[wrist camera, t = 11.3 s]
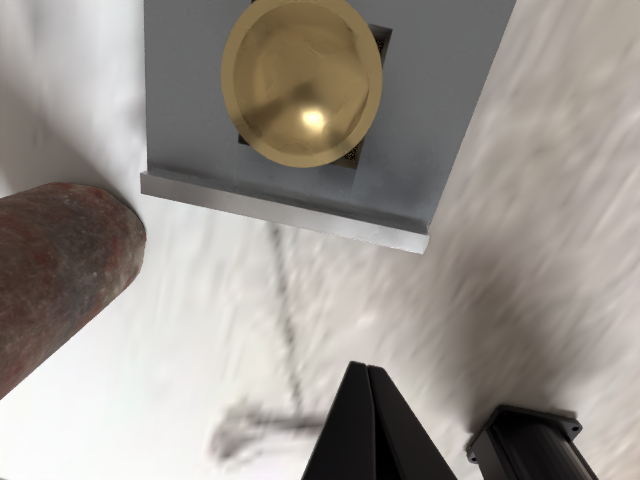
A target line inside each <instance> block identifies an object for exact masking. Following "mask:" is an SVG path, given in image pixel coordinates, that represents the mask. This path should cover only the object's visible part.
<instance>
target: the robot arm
mask: <svg viewBox="0 0 640 480" xmlns="http://www.w3.org/2000/svg"><path fill="white" fill-rule="evenodd" d="M582 429H583V427H582V426H581V424H580V423H579V422H578V420H575V419H570V418H565V417H560V416H555V415H550V414H545V413H540V412H535V411H530V410H525V409H520V408H515V407H510V406H505V405H502V406H499V407H497V408H496V410H495V411H494V413H493V414H492V416H491V417H490V419H489V420H488V422H487V423H486V425H485V426H484V428H483V429H482V431H481V432H480V434H479V435H478V437H477V439H476V440H475V442H474V443H473V445H472V446H471V448H470V449H469V451H468V452H467V454H466V455H467V458H468V461H469V462H470V463H474V464H478V465H479V468H480V470H481V473H482V475H483V478H484V480H599V479H598V478H597V476H596V475H595V474H594V472H593V471H592V469H591V468H590V466H589V465H588V463H587V462H586V461H585V459H584V458H583V456H582V455H581V453H580V452H579V450H578V449H577V448H576V446H575V445H574V443H573V442H572V441H573V440H574V438H575V437H576V436H577V435H578V434H579V433H580V432H581V430H582ZM301 480H458V479H457V478H456V476H455V475H454V473H453V472H452V470H451V469H450V467H449V466H448V464H447V463H446V461H445V460H444V458H443V457H442V455H441V454H440V452H439V451H438V449H437V448H436V446H435V445H434V443H433V442H432V440H431V439H430V437H429V435H428V434H427V432H426V431H425V429H424V428H423V426H422V425H421V423H420V422H419V420H418V419H417V417H416V416H415V414H414V413H413V411H412V410H411V408H410V407H409V405H408V404H407V402H406V401H405V399H404V398H403V396H402V395H401V393H400V392H399V390H398V389H397V387H396V386H395V384H394V383H393V381H392V380H391V378H390V377H389V375H388V374H387V372H386V371H385V369H383V368H382V367H378V366H374V365H367V366H366V364H364V363H361V362H356V361H350V362H349V364H348V367H347V369H346V372H345V374H344V376H343V379H342V381H341V384H340V386H339V389H338V391H337V393H336V396H335V398H334V401H333V403H332V406H331V408H330V410H329V413H328V415H327V418H326V420H325V423H324V425H323V427H322V430H321V432H320V435H319V437H318V439H317V442H316V444H315V447H314V449H313V452H312V454H311V456H310V459H309V461H308V464H307V466H306V469H305V471H304V473H303V476H302V478H301Z"/></svg>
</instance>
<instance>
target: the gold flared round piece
mask: <svg viewBox="0 0 640 480" xmlns="http://www.w3.org/2000/svg"><path fill="white" fill-rule="evenodd" d="M382 81H383V80H382V65H381V59H380V54H379V51H378V47H377V44H376V42H375V39H374V37H373V35H372V32H371V31H370V29H369V27H368V26H367V24H366V22H365V21H364V20H363V18H362V17H361V16H360V15H359V13H358V12H357V11H356V10H355V9H354V8H353V7H352V6H351V5H350V4H348V3H347V2H346V1H344V0H256V1H255V2H254V3H252V4H251V5H250V6H249V7H248V8H247V9H246V10H245V11H244V12H243V13H242V15H241V16H240V17H239V19H238V20H237V21H236V23H235V25H234V27H233V28H232V30H231V32H230V34H229V37H228V39H227V42H226V44H225V48H224V52H223V57H222V65H221V84H222V93H223V97H224V102H225V105H226V108H227V111H228V114H229V116H230V118H231V120H232V122H233V124H234V125H235V127H236V129H237V130H238V132H239V133H240V135H241V136H242V137H243V138H244V140H245V141H246V142H247V143H248V144H249V145H250V146H251V147H252V148H253V149H255V150H256V151H257V152H259V153H260V154H261V155H263V156H265V157H266V158H268V159H270V160H272V161H274V162H277V163H279V164H282V165H286V166H291V167H297V168H309V167H317V166H321V165H325V164H328V163H330V162H333V161H335V160H337V159H339V158H340V157H342V156H344V155H345V154H346V153H348V152H349V151H350V150H352V149H353V148H354V147H355V146H356V145H357V144H358V143H359V142H360V140H361V139H362V138H363V137H364V135H365V134H366V133H367V131H368V129H369V128H370V126H371V124H372V122H373V120H374V118H375V116H376V113H377V110H378V107H379V103H380V98H381V93H382Z"/></svg>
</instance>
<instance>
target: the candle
mask: <svg viewBox="0 0 640 480" xmlns="http://www.w3.org/2000/svg"><path fill="white" fill-rule="evenodd" d="M145 242H146V234H145V230H144V227H143V225H142V224H141V222H140V220H139V219H138V218H137V216H136V215H135V214H134V213H133V212H132V211H131V210H130V209H129V208H127V207H126V206H125V205H123V204H122V203H121V202H120V201H118V200H117V199H116V198H115V197H114V196H112V195H111V194H110V193H108V192H106V191H105V190H103V189H100V188H96V187H94V186H87V185H78V184H74V183H59V182H58V183H49V184H45V185H42V186H39V187H37V188H33V189H30V190H27V191H23V192H20V193H17V194H13V195H10V196H7V197H4V198H1V199H0V400H1V399H2V398H3V397H5V396H6V395H7V394H8V393H9V392H10V391H11V390H12V389H14V388H15V387H16V386H17V385H18V384H19V383H20V382H21V381H23V380H24V379H25V378H26V377H27V376H28V375H29V374H31V373H32V372H33V371H34V370H35V369H36V368H37V367H38V366H40V365H41V364H42V363H43V362H44V361H45V360H46V359H47V358H49V357H50V356H51V355H52V354H53V353H54V352H56V351H57V350H58V349H59V348H60V347H61V346H62V345H64V344H65V343H66V342H67V341H68V340H69V339H70V338H71V337H73V336H74V335H75V334H76V333H77V332H78V331H79V330H81V329H82V328H83V327H84V326H85V325H86V324H87V323H88V322H89V321H91V320H92V319H93V318H94V317H95V316H96V315H98V314H99V313H100V312H101V311H102V310H103V309H104V308H105V307H106V306H108V305H109V304H110V303H111V302H112V301H113V300H114V299H115V298H116V297H117V296H118V295H119V294H121V293H122V292H123V291H124V290H125V289H126V288H127V287H128V286H129V285H130V284H131V283H132V282H133V281H134V279H135V278H136V277H137V275H138V274H139V273H140V270H141V267H142V263H143V257H144V249H145Z"/></svg>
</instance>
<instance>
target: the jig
mask: <svg viewBox="0 0 640 480" xmlns="http://www.w3.org/2000/svg"><path fill="white" fill-rule="evenodd" d="M255 1H256V0H144V34H145V80H146V125H147V171H145V172H142V173H140V182H141V194H146V195H150V196H155V197H159V198H164V199H169V200H173V201H178V202H183V203H187V204H192V205H197V206H201V207H206V208H210V209H215V210H220V211H224V212H229V213H234V214H238V215H243V216H248V217H252V218H257V219H261V220H266V221H271V222H275V223H280V224H285V225H289V226H294V227H298V228H303V229H308V230H312V231H317V232H322V233H326V234H331V235H336V236H340V237H345V238H349V239H354V240H359V241H363V242H368V243H373V244H377V245H382V246H387V247H391V248H396V249H400V250H405V251H410V252H414V253H419V254H424V252H425V249H426V247H427V244H428V242H429V239H430V237H431V236H430V235H429V233H428V232H427V231H428V229H429V226H430V223H431V221H432V218H433V216H434V213H435V210H436V208H437V205H438V203H439V200H440V198H441V195H442V192H443V190H444V187H445V185H446V182H447V179H448V177H449V174H450V172H451V169H452V166H453V164H454V161H455V159H456V156H457V153H458V151H459V148H460V146H461V143H462V140H463V138H464V135H465V133H466V130H467V127H468V125H469V122H470V120H471V117H472V114H473V112H474V109H475V107H476V104H477V101H478V99H479V96H480V94H481V91H482V88H483V86H484V83H485V81H486V78H487V75H488V73H489V70H490V68H491V65H492V62H493V60H494V57H495V55H496V52H497V50H498V47H499V44H500V42H501V39H502V37H503V34H504V31H505V29H506V26H507V24H508V21H509V18H510V16H511V13H512V11H513V8H514V5H515V3H516V0H344V1H346V2H347V3H348V4H350V5H351V6H352V7H353V8H354V9H355V10H356V11H357V12H358V13H359V15H360V16H361V17H362V18H363V20H364V21H365V22H366V24H367V26H368V27H369V29H370V31H371V32H372V35H373V37H374V39H378V40H382V41H384V44H383V48H382V52H381V56H380V59H381V65H382V80H383V81H382V93H381V98H380V103H379V107H378V110H377V113H376V116H375V118H374V120H373V122H372V124H371V126H370V128H369V129H368V131H367V133H366V134H365V135H364V137H363V138H362V139H361V140H360V142H359V143H358V147H357V151H356V155H355V159H354V161H353V160H348V159H344V158H339V159H337V160H335V161H333V162H330V163H328V164H325V165H321V166H317V167H309V168H297V167H291V166H286V165H282V164H279V163H277V162H274V161H272V160H270V159H268V158H266V157H265V156H263V155H261V154H260V153H259V152H257V151H256V150H255V149H253V148H252V147H251V146H250V145H249V144H248V143H247V142H246V141H245V140H244V138H243V137H242V136H241V135H240V133H239V132H238V130H237V129H236V127H235V125H234V124H233V122H232V120H231V118H230V116H229V114H228V111H227V108H226V105H225V102H224V97H223V93H222V84H221V65H222V57H223V52H224V48H225V44H226V42H227V39H228V37H229V34H230V32H231V30H232V28H233V27H234V25H235V23H236V21H237V20H238V19H239V17H240V16H241V15H242V13H243V12H244V11H245V10H246V9H247V8H248V7H249V6H250V5H251V4H252V3H254V2H255Z"/></svg>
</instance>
